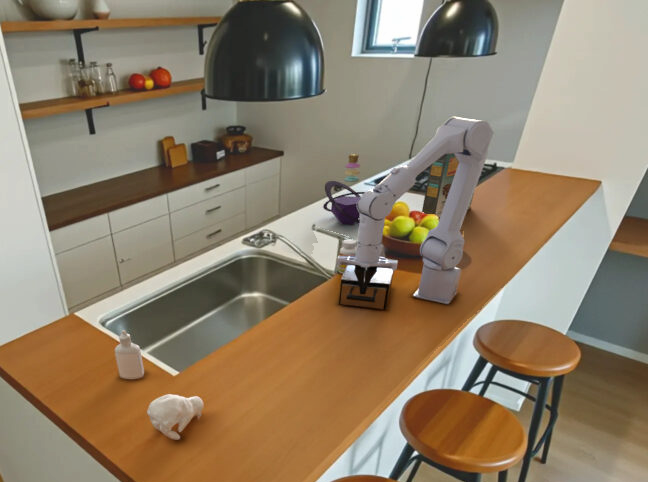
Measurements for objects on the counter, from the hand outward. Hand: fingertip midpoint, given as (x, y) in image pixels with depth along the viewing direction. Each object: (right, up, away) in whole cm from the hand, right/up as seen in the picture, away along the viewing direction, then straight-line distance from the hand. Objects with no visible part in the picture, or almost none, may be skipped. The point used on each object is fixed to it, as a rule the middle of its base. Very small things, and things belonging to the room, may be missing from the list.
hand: (362, 292), depth 125 cm
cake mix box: (+55, +42, +65) cm, 95 cm away
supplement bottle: (+3, +11, +25) cm, 27 cm away
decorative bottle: (+15, +38, +63) cm, 75 cm away
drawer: (+2, -1, +6) cm, 7 cm away
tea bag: (+9, +9, +22) cm, 25 cm away
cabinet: (+4, 0, +10) cm, 10 cm away
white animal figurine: (-46, -31, -30) cm, 64 cm away
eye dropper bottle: (-58, -22, -15) cm, 64 cm away
